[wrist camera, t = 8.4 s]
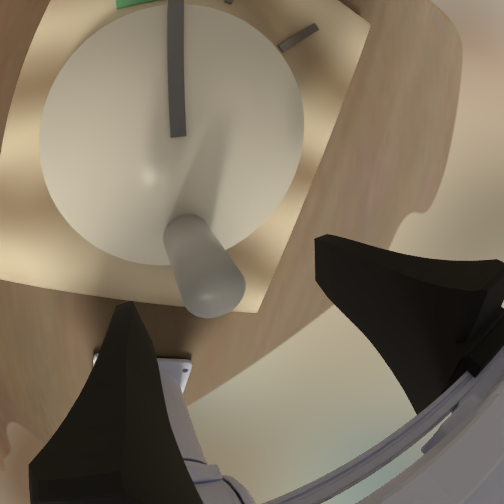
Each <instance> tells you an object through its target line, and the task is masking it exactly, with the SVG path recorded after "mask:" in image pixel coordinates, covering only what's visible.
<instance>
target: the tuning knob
mask: <svg viewBox="0 0 504 504" xmlns="http://www.w3.org/2000/svg"><path fill="white" fill-rule="evenodd" d="M303 139H304V112H303V106H302V99H301V95H300V92H299V89H298V85H297V82H296V80H295V78H294V76H293V73H292V71H291V69H290V67H289V66H288V64H287V62H286V61H285V59H284V58H283V56H282V54H281V53H280V52H279V51H278V50H277V48H276V47H275V46H274V45H273V44H272V42H271V41H270V40H268V39H267V38H266V37H265V36H264V35H263V34H262V33H261V32H260V31H258V30H257V29H256V28H254V27H253V26H251V25H250V24H248V23H247V22H245V21H243V20H241V19H239V18H237V17H235V16H233V15H231V14H229V13H226V12H223V11H220V10H217V9H214V8H210V7H204V6H199V5H189V4H184V0H168V5H161V6H154V7H150V8H146V9H142V10H138V11H135V12H133V13H130V14H128V15H125V16H123V17H121V18H118V19H117V20H115V21H113V22H111V23H110V24H108V25H106V26H104V27H103V28H101V29H100V30H99V31H97V32H96V33H95V34H93V35H92V36H91V37H89V38H88V39H87V40H86V41H85V42H84V43H83V44H82V45H81V46H80V47H79V48H78V49H77V50H76V51H75V52H74V53H73V54H72V55H71V57H70V58H69V59H68V61H67V62H66V63H65V65H64V66H63V67H62V69H61V70H60V72H59V74H58V75H57V77H56V79H55V81H54V83H53V85H52V87H51V89H50V91H49V94H48V97H47V100H46V102H45V105H44V109H43V113H42V118H41V123H40V133H39V153H40V163H41V168H42V172H43V176H44V180H45V183H46V186H47V188H48V191H49V193H50V196H51V198H52V200H53V201H54V203H55V205H56V207H57V208H58V210H59V212H60V213H61V214H62V216H63V217H64V218H65V220H66V221H67V222H68V223H69V225H70V226H71V227H72V228H73V229H74V230H75V231H76V232H78V233H79V234H80V235H81V236H82V237H83V238H84V239H86V240H87V241H88V242H90V243H91V244H93V245H94V246H95V247H97V248H99V249H101V250H103V251H105V252H107V253H108V254H110V255H113V256H116V257H118V258H121V259H124V260H127V261H131V262H136V263H140V264H148V265H171V267H172V270H173V274H174V277H175V280H176V283H177V285H178V288H179V291H180V294H181V297H182V300H183V303H184V305H185V307H186V309H187V310H188V311H189V312H190V313H192V314H193V315H195V316H197V317H201V318H216V317H220V316H223V315H225V314H227V313H229V312H230V311H232V310H233V309H234V308H235V307H236V306H237V305H238V304H239V303H240V301H241V300H242V298H243V296H244V293H245V288H246V283H245V279H244V276H243V274H242V273H241V271H240V270H239V269H238V267H237V266H236V264H235V263H234V262H233V260H232V259H231V257H230V256H229V255H228V253H227V252H226V250H227V249H229V248H230V247H232V246H234V245H236V244H237V243H239V242H240V241H242V240H243V239H245V238H246V237H248V236H249V235H250V234H251V233H252V232H254V231H255V230H256V229H257V228H258V227H260V226H261V224H262V223H263V222H264V221H265V220H266V219H267V218H268V217H269V216H270V215H271V214H272V213H273V211H274V210H275V209H276V207H277V206H278V205H279V203H280V202H281V200H282V199H283V197H284V195H285V194H286V192H287V190H288V189H289V187H290V184H291V182H292V180H293V178H294V176H295V173H296V170H297V167H298V164H299V161H300V157H301V152H302V147H303Z"/></svg>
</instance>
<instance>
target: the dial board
mask: <svg viewBox="0 0 504 504" xmlns="http://www.w3.org/2000/svg"><path fill="white" fill-rule="evenodd" d="M184 4H189V5H199V6H204V7H210V8H214V9H217V10H220V11H223V12H226V13H229V14H231V15H233V16H235V17H237V18H239V19H241V20H243V21H245V22H247V23H248V24H250V25H251V26H253V27H254V28H256V29H257V30H258V31H260V32H261V33H262V34H263V35H264V36H265V37H266V38H267V39H268V40H270V41H271V42H272V44H273V45H274V46H275V47H276V48H277V50H278V51H279V52H280V53H281V54H282V56H283V58H284V59H285V61H286V62H287V64H288V66H289V67H290V69H291V71H292V73H293V76H294V78H295V80H296V82H297V85H298V89H299V92H300V95H301V99H302V106H303V112H304V139H303V147H302V152H301V157H300V161H299V164H298V167H297V170H296V173H295V176H294V178H293V180H292V182H291V184H290V187H289V189H288V190H287V192H286V194H285V195H284V197H283V199H282V200H281V202H280V203H279V205H278V206H277V207H276V209H275V210H274V211H273V213H272V214H271V215H270V216H269V217H268V218H267V219H266V220H265V221H264V222H263V223H262V224H261V226H260V227H258V228H257V229H256V230H255V231H254V232H252V233H251V234H250V235H249V236H248V237H246V238H245V239H243V240H242V241H240V242H239V243H237V244H236V245H234V246H232V247H230V248H229V249H227V250H226V252H227V253H228V255H229V256H230V257H231V259H232V260H233V262H234V263H235V264H236V266H237V267H238V269H239V270H240V271H241V273H242V274H243V276H244V279H245V283H246V288H245V293H244V296H243V298H242V300H241V301H240V303H239V304H238V305H237V306H236V307H235V308H234V309H233V310H232V311H238V312H253V313H257V312H258V309H259V307H260V305H261V302H262V300H263V298H264V296H265V293H266V291H267V289H268V286H269V284H270V282H271V279H272V277H273V275H274V272H275V270H276V268H277V265H278V263H279V261H280V258H281V256H282V254H283V251H284V249H285V246H286V244H287V242H288V239H289V237H290V235H291V232H292V230H293V227H294V225H295V223H296V220H297V218H298V215H299V213H300V210H301V208H302V206H303V203H304V201H305V198H306V196H307V193H308V191H309V188H310V186H311V183H312V181H313V178H314V176H315V173H316V171H317V168H318V166H319V163H320V161H321V158H322V156H323V153H324V151H325V148H326V145H327V143H328V140H329V138H330V135H331V133H332V130H333V127H334V125H335V122H336V120H337V117H338V114H339V112H340V109H341V106H342V104H343V101H344V98H345V96H346V93H347V90H348V88H349V85H350V82H351V80H352V77H353V74H354V71H355V69H356V66H357V63H358V60H359V58H360V55H361V52H362V49H363V46H364V44H365V41H366V38H367V35H368V32H369V29H370V26H371V25H370V24H369V23H368V22H367V21H365V20H364V19H363V18H361V17H360V16H359V15H358V14H356V13H355V12H354V11H352V10H351V9H349V8H348V7H347V6H345V5H344V4H343V3H341V2H340V1H338V0H184ZM161 5H168V0H51V2H50V3H49V5H48V7H47V9H46V11H45V13H44V16H43V18H42V20H41V22H40V24H39V26H38V29H37V31H36V33H35V35H34V38H33V40H32V43H31V45H30V48H29V50H28V53H27V56H26V58H25V61H24V64H23V67H22V70H21V73H20V76H19V79H18V82H17V85H16V88H15V92H14V95H13V99H12V103H11V107H10V110H9V115H8V119H7V123H6V128H5V133H4V138H3V143H2V149H1V155H0V279H2V280H7V281H12V282H17V283H22V284H27V285H32V286H38V287H43V288H49V289H55V290H60V291H67V292H73V293H79V294H85V295H92V296H99V297H106V298H113V299H121V300H128V301H136V302H144V303H153V304H162V305H171V306H181V307H185V305H184V303H183V300H182V297H181V294H180V291H179V288H178V285H177V283H176V280H175V277H174V274H173V270H172V267H171V265H148V264H140V263H136V262H131V261H127V260H124V259H121V258H118V257H116V256H113V255H110V254H108V253H107V252H105V251H103V250H101V249H99V248H97V247H95V246H94V245H93V244H91V243H90V242H88V241H87V240H86V239H84V238H83V237H82V236H81V235H80V234H79V233H78V232H76V231H75V230H74V229H73V228H72V227H71V226H70V225H69V223H68V222H67V221H66V220H65V218H64V217H63V216H62V214H61V213H60V212H59V210H58V208H57V207H56V205H55V203H54V201H53V200H52V198H51V196H50V193H49V191H48V188H47V186H46V183H45V180H44V176H43V172H42V168H41V163H40V153H39V133H40V123H41V118H42V113H43V109H44V105H45V102H46V100H47V97H48V94H49V91H50V89H51V87H52V85H53V83H54V81H55V79H56V77H57V75H58V74H59V72H60V70H61V69H62V67H63V66H64V65H65V63H66V62H67V61H68V59H69V58H70V57H71V55H72V54H73V53H74V52H75V51H76V50H77V49H78V48H79V47H80V46H81V45H82V44H83V43H84V42H85V41H86V40H87V39H88V38H89V37H91V36H92V35H93V34H95V33H96V32H97V31H99V30H100V29H101V28H103V27H104V26H106V25H108V24H110V23H111V22H113V21H115V20H117V19H118V18H121V17H123V16H125V15H128V14H130V13H133V12H135V11H138V10H142V9H146V8H150V7H154V6H161Z"/></svg>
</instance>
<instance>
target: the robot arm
mask: <svg viewBox="0 0 504 504" xmlns="http://www.w3.org/2000/svg"><path fill="white" fill-rule="evenodd" d="M314 240H315V280H316V282H317V283H318V285H319V286H320V287H321V289H322V290H323V292H324V293H325V294H326V295H327V297H328V298H329V299H330V300H331V301H332V302H333V303H334V304H335V305H336V306H337V307H338V308H339V309H340V310H341V312H343V313H344V314H345V315H346V316H347V317H348V318H349V319H350V320H351V322H352V323H354V324H355V325H356V326H357V327H358V328H359V330H360V331H362V333H363V334H364V335H365V336H366V337H367V338H368V339H369V340H370V342H371V343H372V344H373V346H374V347H375V348H376V350H377V351H378V352H379V353H380V355H381V356H382V358H383V359H384V360H385V362H386V363H387V365H388V366H389V367H390V369H391V370H392V372H393V374H394V375H395V377H396V378H397V380H398V381H399V383H400V385H401V386H402V388H403V389H404V391H405V393H406V395H407V397H408V399H409V400H410V402H411V404H412V406H413V408H414V410H415V412H416V414H417V416H415V417H414V418H413V419H412V420H410V421H409V422H408V423H406V424H405V425H404V426H402V427H401V428H400V429H398V430H397V431H395V432H394V433H393V434H391V435H390V436H388V437H387V438H386V439H384V440H383V441H381V442H380V443H379V444H377V445H375V446H374V447H372V448H371V449H369V450H368V451H366V452H365V453H363V454H361V455H360V456H358V457H356V458H355V459H353V460H351V461H350V462H348V463H346V464H345V465H343V466H341V467H339V468H337V469H336V470H334V471H332V472H330V473H328V474H326V475H325V476H323V477H321V478H319V479H317V480H315V481H313V482H311V483H309V484H307V485H305V486H303V487H300V488H298V489H296V490H294V491H292V492H289V493H287V494H285V495H283V496H280V497H278V498H275V499H273V500H271V501H268V502H266V503H263V504H321V503H323V502H325V501H327V500H329V499H331V498H332V497H334V496H336V495H338V494H340V493H341V492H343V491H345V490H347V489H349V488H350V487H352V486H354V485H355V484H357V483H359V482H360V481H362V480H364V479H365V478H367V477H368V476H370V475H371V474H373V473H375V472H376V471H377V470H379V469H381V468H382V467H383V466H385V465H386V464H388V463H389V462H391V461H392V460H393V459H395V458H396V457H398V456H399V455H400V454H402V453H403V452H404V451H406V450H407V449H408V448H409V447H411V446H412V445H413V444H415V443H416V442H417V441H418V440H420V439H421V438H422V437H423V436H425V435H426V434H427V433H428V432H429V431H431V430H432V429H433V428H434V427H435V426H436V425H437V424H439V423H440V422H441V421H442V420H443V419H444V418H445V417H446V416H447V415H449V414H450V412H452V414H451V416H450V417H449V418H448V419H447V420H446V421H445V422H444V423H443V424H442V425H441V426H440V428H439V429H438V431H437V432H436V433H435V434H434V435H433V437H432V438H431V439H430V440H429V441H428V442H427V443H426V444H425V445H424V446H423V447H422V449H421V451H422V452H423V453H424V455H423V456H422V457H421V458H420V459H418V460H417V461H416V462H415V463H413V464H412V465H411V466H410V467H408V468H407V469H406V470H404V471H403V472H402V473H400V474H399V475H398V476H396V477H395V478H394V479H392V480H391V481H389V482H388V483H386V484H385V485H384V486H382V487H381V488H379V489H378V490H376V491H375V492H373V493H372V494H370V495H369V496H367V497H366V498H364V499H363V500H361V501H359V502H358V503H356V504H504V308H502V307H501V305H502V302H503V300H504V263H503V262H502V261H499V260H497V259H495V260H482V261H449V260H438V259H428V258H422V257H417V256H411V255H406V254H401V253H396V252H393V251H389V250H385V249H381V248H377V247H374V246H370V245H367V244H363V243H360V242H356V241H353V240H350V239H346V238H342V237H338V236H334V235H329V234H326V235H323V236H321V237H318V238H315V239H314ZM191 368H192V362H191V361H190V360H188V359H166V358H156V355H155V351H154V348H153V344H152V341H151V339H150V337H149V335H148V333H147V331H146V329H145V327H144V325H143V323H142V321H141V319H140V317H139V314H138V312H137V310H136V308H135V306H134V304H133V302H132V301H130V302H127V303H124V304H121V305H118V306H116V309H115V311H114V314H113V316H112V319H111V322H110V325H109V328H108V331H107V333H106V336H105V339H104V341H103V344H102V347H101V349H100V352H99V353H97V354H95V355H94V357H93V369H92V371H91V373H90V375H89V378H88V380H87V382H86V384H85V386H84V387H83V389H82V391H81V393H80V395H79V397H78V398H77V400H76V402H75V403H74V405H73V407H72V408H71V410H70V411H69V413H68V415H67V416H66V418H65V419H64V421H63V422H62V424H61V425H60V427H59V428H58V430H57V431H56V432H55V434H54V435H53V436H52V438H51V439H50V440H49V442H48V443H47V444H46V445H45V446H44V448H43V449H42V450H41V451H40V452H39V454H38V455H37V456H36V457H35V458H34V459H33V461H32V462H31V463H30V464H29V490H30V502H31V504H256V503H255V501H254V499H253V497H252V496H251V494H250V493H249V491H248V490H247V489H246V488H245V487H244V486H243V485H242V484H240V483H239V482H238V481H237V480H236V479H234V478H233V477H231V476H227V475H223V476H222V475H221V473H220V470H219V468H218V466H217V465H216V464H215V465H207V462H206V460H205V457H204V454H203V452H202V449H201V446H200V444H199V441H198V438H197V435H196V432H195V430H194V427H193V424H192V421H191V418H190V415H189V412H188V409H187V406H186V403H185V400H184V397H183V392H184V389H185V386H186V383H187V380H188V377H189V374H190V371H191Z"/></svg>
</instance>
